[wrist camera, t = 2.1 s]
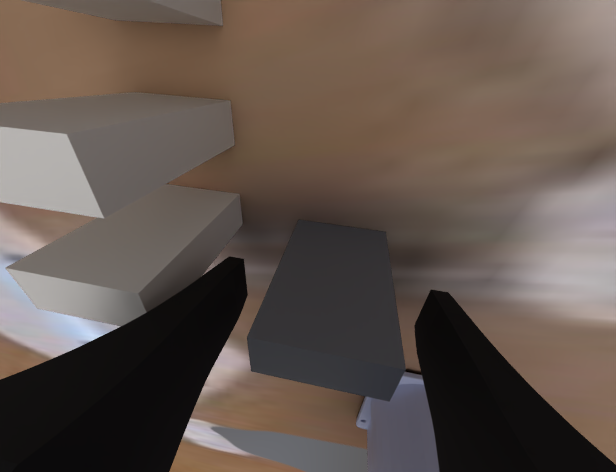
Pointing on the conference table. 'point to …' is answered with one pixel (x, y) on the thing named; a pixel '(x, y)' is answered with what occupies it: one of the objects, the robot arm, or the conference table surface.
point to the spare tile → (331, 313)
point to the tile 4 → (146, 10)
